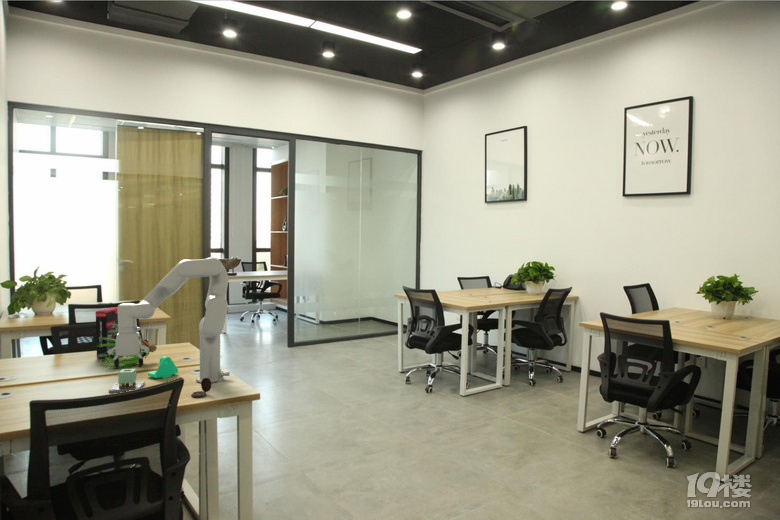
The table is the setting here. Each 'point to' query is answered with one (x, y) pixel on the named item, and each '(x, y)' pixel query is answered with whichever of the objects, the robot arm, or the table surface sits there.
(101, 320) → the graphics card box
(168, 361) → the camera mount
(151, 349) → the decorative plant
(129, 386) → the chassis
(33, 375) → the table surface
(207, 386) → the compass
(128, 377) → the pale green block
